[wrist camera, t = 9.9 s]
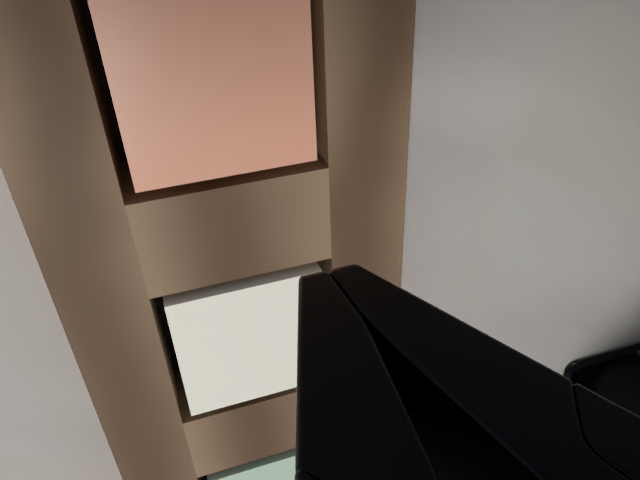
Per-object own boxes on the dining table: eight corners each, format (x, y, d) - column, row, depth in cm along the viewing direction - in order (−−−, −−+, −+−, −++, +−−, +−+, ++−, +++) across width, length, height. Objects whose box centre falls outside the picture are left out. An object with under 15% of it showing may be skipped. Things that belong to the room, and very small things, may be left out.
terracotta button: (279, -48, 17) (308, -34, 15) (291, 125, 20) (317, 159, 18) (85, -32, 16) (83, -13, 14) (130, 151, 19) (135, 192, 17)
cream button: (298, 228, 23) (322, 270, 21) (305, 331, 26) (327, 378, 24) (156, 258, 22) (164, 307, 19) (182, 363, 25) (191, 416, 22)
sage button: (310, 396, 29) (330, 445, 26) (315, 464, 32) (333, 513, 29) (198, 428, 27) (208, 482, 25) (214, 496, 30) (224, 549, 28)
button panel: (378, -183, 16) (425, -190, 14) (367, 479, 34) (388, 525, 32) (-92, -167, 14) (-133, -174, 11) (164, 546, 32) (170, 601, 29)
